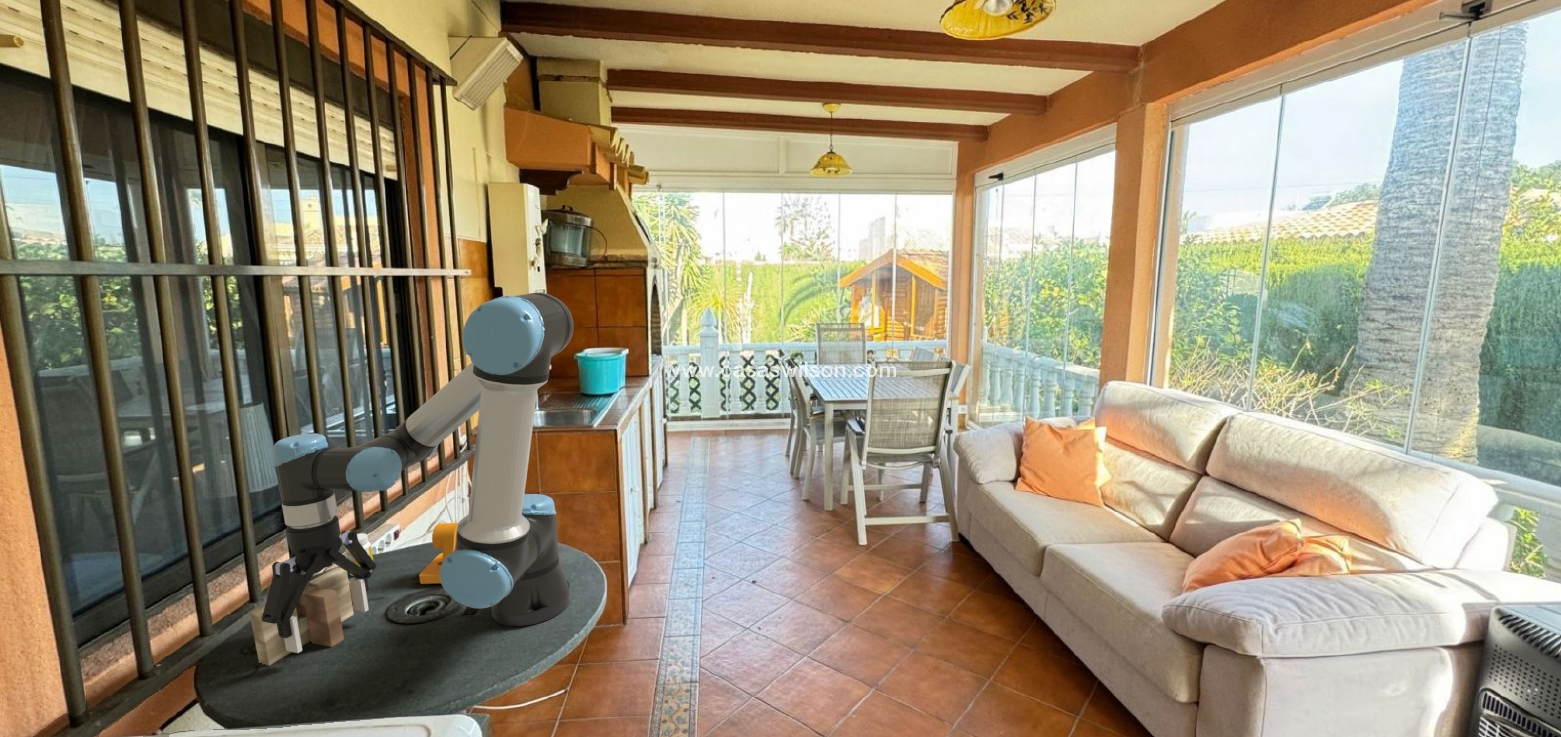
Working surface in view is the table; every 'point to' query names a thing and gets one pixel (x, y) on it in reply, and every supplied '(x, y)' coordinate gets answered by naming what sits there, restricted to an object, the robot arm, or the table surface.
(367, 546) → the supplement bottle
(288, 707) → the table surface
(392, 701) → the table surface
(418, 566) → the table surface
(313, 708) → the table surface
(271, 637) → the interlocking wood puzzle
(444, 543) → the bracket
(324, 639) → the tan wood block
